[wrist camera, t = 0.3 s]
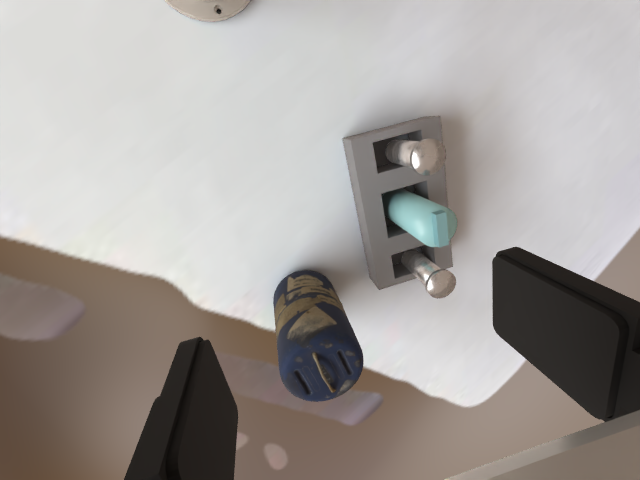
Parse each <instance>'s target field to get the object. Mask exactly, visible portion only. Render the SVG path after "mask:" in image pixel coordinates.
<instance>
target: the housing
mask: <svg viewBox="0 0 640 480" xmlns="http://www.w3.org/2000/svg"><path fill="white" fill-rule="evenodd" d="M406 133H408V137H409V141H421V140H423V139H428V138H429V139H436V140H438V141H440V142H441V143H442V144H443V142H442V130H441V118H440V116H429V117H422V118H418V119H414V120H411V121H407V122H403V123H399V124H395V125H392V126H388V127H384V128H380V129H377V130H373V131H369V132H365V133H362V134H358V135H354V136H350V137H347V138H343V144H344V149H345V154H346V159H347V164H348V169H349V174H350V180H351V185H352V190H353V195H354V200H355V205H356V210H357V215H358V220H359V225H360V230H361V235H362V240H363V245H364V250H365V255H366V260H367V265H368V270H369V275H370V278H371V280H372V281H373V283H374V284H375V285H376V287H377V288H378V289H379V290H380V289H383V288H387V287H390V286H393V285H396V284H399V283H402V282H406V281H409V280H412V279H415V278H417V277H416V276H415V275H413V274H412V273H411V272H410V271H409V270H408V269H407V268H406V267H405V266H404V265H403V264H402V263H398V264H395V265H393V264H392V258H391V255H393V254H397V253H400V252H403V251H407V250H410V249H413V248H416V247H420V246H422V253H423V255H424V256H425V257H426V258H428V259H429V260H430V261H432V262H433V263H434V264H435V265H437V266H438V267H439V268H441V269H447V268H450V267H453V264H452V252H451V240H449V245H446V246H443V247H440V248H439V247H430V246H427V245H425V244H424V243H422V242H421V241H419V240H418V239H417V238H415V237H414V236H412V235H411V234H410V233H408V232H407V231H405V230H404V229H403V228H401V227H400V226H398V225H397V224H396V225H392V226H389V227H386V222H385V215H384V209H383V203H382V197H381V194H382V193H385V192H389V191H392V190H396V189H399V188H403V187H406V186H410V185H413V184H414V187H415V194H416V195H419V196H421V197H423V198H425V199H428V200H430V201H432V202H435V203H437V204H439V205H442V206H444V207H446V208H448V203H447V191H446V179H445V167H444V164H443V166H442V167H441V169H440V170H439V171H438V172H436V173H435V174H432V175H428V176H426V175H421V174H418V173H416V172H415V171H414V170H413V168H410V167H406V166H403V165H399V164H396V163H390V164H387V165H383V166H380V167H376V161H375V155H374V148H373V142H377V141H380V140H384V139H388V138H391V137H395V136H399V135H403V134H406Z"/></svg>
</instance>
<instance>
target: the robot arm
mask: <svg viewBox="0 0 640 480" xmlns="http://www.w3.org/2000/svg"><path fill="white" fill-rule="evenodd" d="M164 1H165V2H166V3H167V4H168V5H170V6H171V7H172V8H174V9H175V10H177V11H178V12H179V13H181V14H183V15H186V16H188V17H190V18H192V19H196V20H200V21H208V22H215V21H221V20H226V19H228V18H230V17H233V16H235V15H236V14H238V13H239V12H240V11H242V10H243V9H244V8H245V7H246V6H247V4H248V3H249V2H250V1H251V0H164ZM217 10H221V14H217ZM492 266H493V327H494V329H495V331H496V333H497V334H498V335H499V336H500V337H501V338H502V339H503V340H505V341H506V342H507V343H508V344H509V345H510V346H512V347H513V348H514V349H515V350H516V351H517V352H519V353H520V354H521V355H522V356H523V357H524V358H526V359H527V360H528V361H529V362H530V363H531V364H533V365H534V366H535V367H536V368H537V369H539V370H540V371H541V372H542V373H543V374H544V375H546V376H547V377H548V378H549V379H550V380H551V381H552V382H554V383H555V384H556V385H557V386H558V387H559V388H561V389H562V390H563V391H564V392H565V393H567V394H568V395H569V396H570V397H571V398H572V399H574V400H575V401H576V402H577V403H578V404H579V405H580V406H582V407H583V408H584V409H585V410H586V411H587V412H589V413H590V414H591V415H592V416H594V417H595V418H598V419H602V420H604V421H605V422H604V423H601V424H599V425H596V426H593V427H590V428H587V429H585V430H582V431H579V432H576V433H573V434H570V435H567V436H564V437H562V438H559V439H556V440H553V441H550V442H547V443H544V444H542V445H539V446H536V447H533V448H530V449H528V450H525V451H522V452H519V453H517V454H514V455H511V456H508V457H505V458H502V459H500V460H497V461H494V462H491V463H488V464H486V465H483V466H480V467H477V468H474V469H472V470H469V471H466V472H464V473H461V474H458V475H455V476H452V477H449V478H447V479H444V480H640V302H638V301H636V300H634V299H631V298H629V297H627V296H625V295H622V294H620V293H618V292H616V291H614V290H612V289H609V288H607V287H605V286H603V285H601V284H598V283H596V282H594V281H592V280H590V279H587V278H585V277H583V276H581V275H579V274H576V273H574V272H572V271H570V270H568V269H565V268H563V267H561V266H559V265H557V264H554V263H552V262H550V261H548V260H545V259H543V258H541V257H539V256H537V255H534V254H532V253H530V252H528V251H526V250H523V249H521V248H519V247H513V248H509V249H506V250H502V251H499V252H498V253H497V254H496V257H495V258H494V259H493V262H492ZM237 424H238V410H237V405H236V403H235V401H234V398H233V395H232V393H231V391H230V388H229V386H228V383H227V381H226V379H225V376H224V374H223V371H222V369H221V367H220V364H219V362H218V359H217V357H216V354H215V352H214V350H213V347H212V345H211V343H210V341H209V340H205V341H204V340H203V339H202V338H201V337H198V338H194V339H190V340H187V341H183V342H181V343H180V344H179V346H178V349H177V351H176V354H175V357H174V360H173V362H172V365H171V368H170V370H169V374H168V376H167V379H166V382H165V384H164V387H163V390H162V392H161V395H160V396H159V397H157V398H156V399H155V401H154V403H153V405H152V408H151V411H150V413H149V416H148V418H147V421H146V423H145V426H144V429H143V431H142V434H141V437H140V439H139V442H138V444H137V447H136V450H135V452H134V455H133V458H132V460H131V463H130V465H129V468H128V470H127V473H126V476H125V478H124V480H234V467H235V453H236V438H237Z"/></svg>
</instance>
